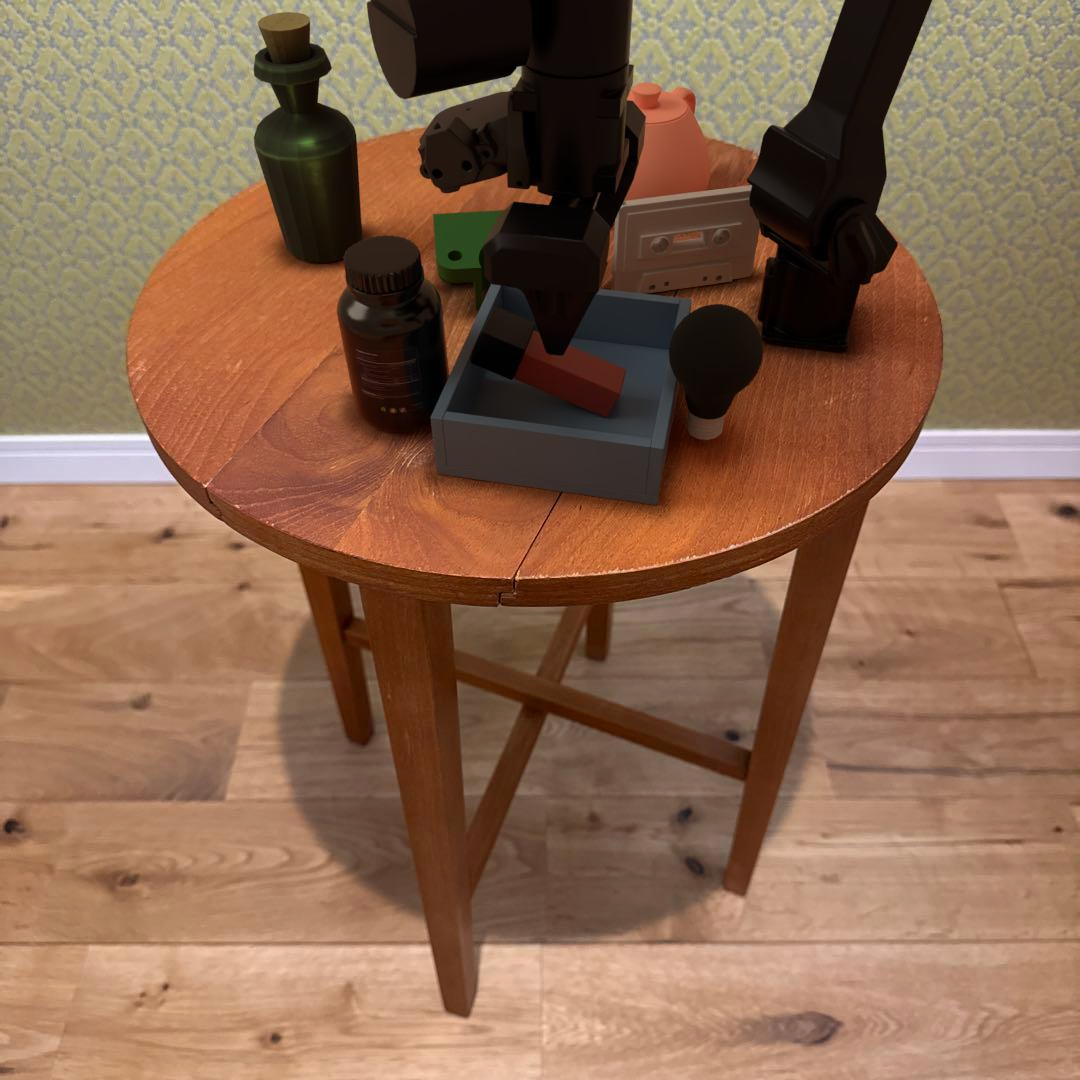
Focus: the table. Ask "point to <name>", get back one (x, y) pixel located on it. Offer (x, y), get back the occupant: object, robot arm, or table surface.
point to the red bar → (547, 364)
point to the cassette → (687, 261)
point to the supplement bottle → (392, 334)
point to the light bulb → (714, 363)
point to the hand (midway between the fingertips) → (569, 312)
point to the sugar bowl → (669, 144)
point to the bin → (567, 406)
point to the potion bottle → (306, 146)
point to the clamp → (463, 248)
